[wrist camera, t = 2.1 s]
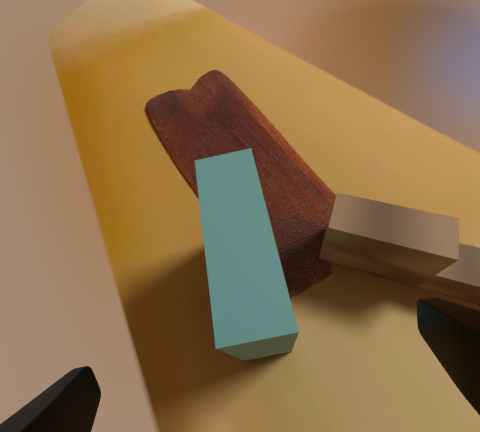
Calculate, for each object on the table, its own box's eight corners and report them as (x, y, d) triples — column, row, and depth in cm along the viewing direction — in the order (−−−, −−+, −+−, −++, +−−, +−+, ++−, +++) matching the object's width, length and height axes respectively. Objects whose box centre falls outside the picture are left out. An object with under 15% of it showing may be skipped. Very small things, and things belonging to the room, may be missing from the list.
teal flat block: (291, 351, 18) (298, 332, 10) (244, 360, 18) (215, 348, 10) (261, 227, 22) (251, 148, 14) (225, 235, 22) (194, 160, 15)
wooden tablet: (143, 110, 32) (137, 98, 31) (219, 75, 34) (216, 61, 32) (265, 318, 19) (264, 313, 18) (380, 246, 21) (387, 236, 19)
